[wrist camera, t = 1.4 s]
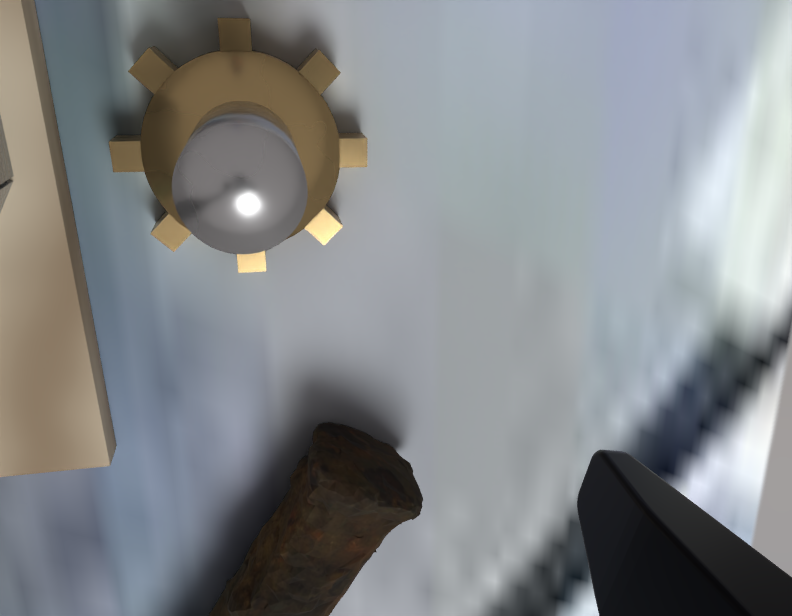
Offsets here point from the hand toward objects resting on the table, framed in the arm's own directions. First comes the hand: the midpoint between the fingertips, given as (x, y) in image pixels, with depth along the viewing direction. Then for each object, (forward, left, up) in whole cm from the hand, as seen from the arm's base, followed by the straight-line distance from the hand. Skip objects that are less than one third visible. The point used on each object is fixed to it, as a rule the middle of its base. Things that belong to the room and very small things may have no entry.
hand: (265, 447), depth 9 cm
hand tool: (-2, -20, -15) cm, 25 cm away
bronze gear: (0, +1, -15) cm, 15 cm away
